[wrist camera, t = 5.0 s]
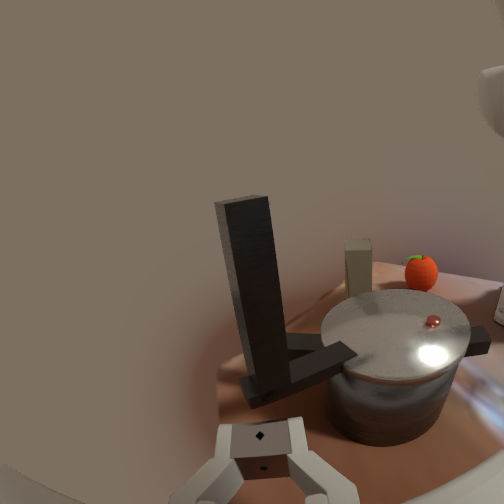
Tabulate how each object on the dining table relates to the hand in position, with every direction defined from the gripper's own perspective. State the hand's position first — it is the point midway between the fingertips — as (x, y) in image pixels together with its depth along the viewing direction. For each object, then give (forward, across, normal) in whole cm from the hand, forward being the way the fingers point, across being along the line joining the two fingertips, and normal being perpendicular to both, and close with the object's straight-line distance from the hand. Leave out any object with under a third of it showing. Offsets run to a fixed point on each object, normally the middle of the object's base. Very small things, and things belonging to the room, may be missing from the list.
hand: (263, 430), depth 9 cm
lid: (+12, -9, +7) cm, 16 cm away
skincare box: (+34, -15, +16) cm, 41 cm away
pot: (+14, -10, +16) cm, 24 cm away
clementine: (+37, -29, +16) cm, 50 cm away
